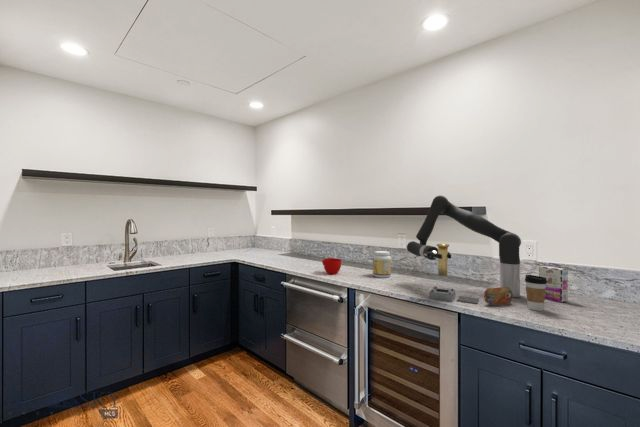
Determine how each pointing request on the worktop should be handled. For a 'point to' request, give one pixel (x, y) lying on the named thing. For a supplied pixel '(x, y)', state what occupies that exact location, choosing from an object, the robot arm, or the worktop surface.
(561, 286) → the candy bar box
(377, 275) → the supplement tub
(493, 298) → the tin
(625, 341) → the worktop surface
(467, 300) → the pad
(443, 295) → the housing
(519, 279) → the robot arm
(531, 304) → the coffee cup
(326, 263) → the ceramic cup
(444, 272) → the pin
